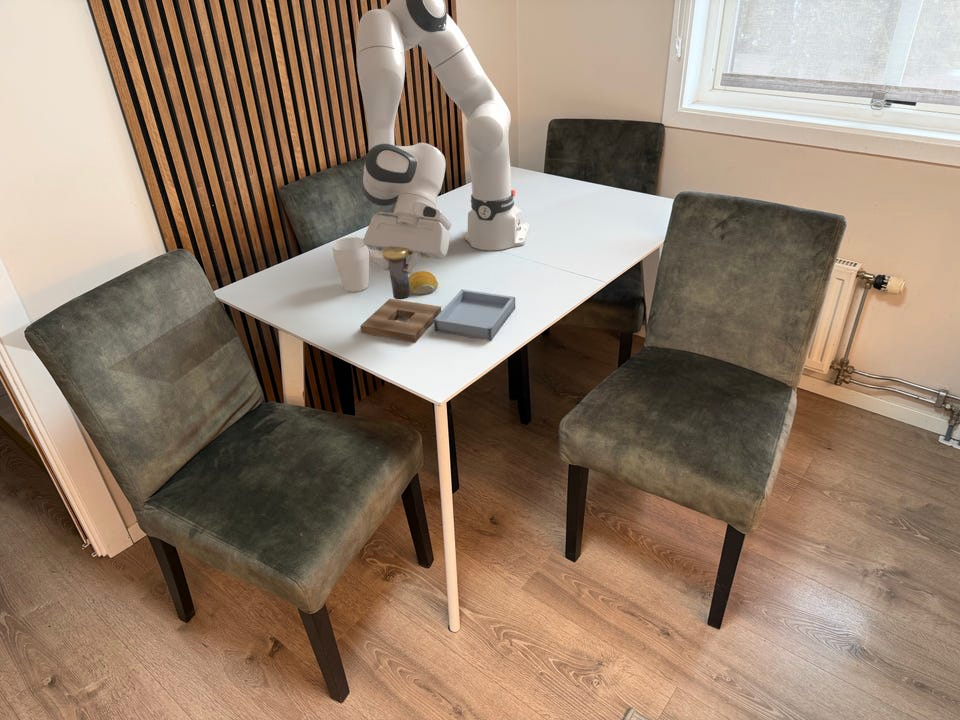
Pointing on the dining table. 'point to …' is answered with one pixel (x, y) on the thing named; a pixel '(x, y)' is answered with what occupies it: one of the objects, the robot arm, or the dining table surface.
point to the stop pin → (398, 271)
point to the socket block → (406, 331)
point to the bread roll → (422, 283)
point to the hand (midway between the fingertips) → (397, 271)
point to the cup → (352, 263)
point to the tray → (475, 314)
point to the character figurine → (377, 256)
